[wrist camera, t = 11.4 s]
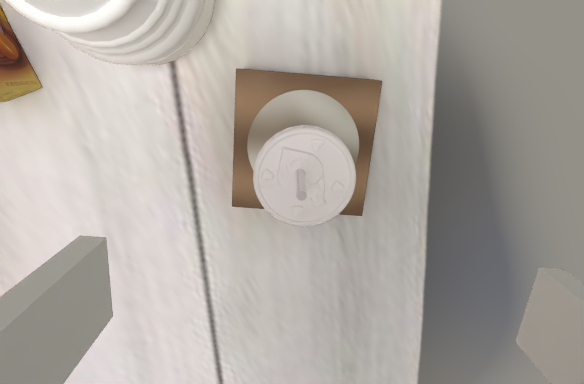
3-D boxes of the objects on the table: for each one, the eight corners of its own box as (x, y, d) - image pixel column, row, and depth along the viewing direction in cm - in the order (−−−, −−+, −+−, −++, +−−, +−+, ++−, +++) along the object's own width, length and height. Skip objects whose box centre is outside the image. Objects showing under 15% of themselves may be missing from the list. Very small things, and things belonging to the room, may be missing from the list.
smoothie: (313, 94, 30) (330, 114, 17) (351, 159, 32) (394, 223, 18) (249, 136, 31) (217, 185, 18) (289, 196, 33) (287, 282, 20)
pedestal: (354, 201, 38) (362, 217, 33) (238, 192, 37) (231, 208, 33) (372, 79, 34) (383, 80, 30) (242, 68, 34) (235, 68, 29)
